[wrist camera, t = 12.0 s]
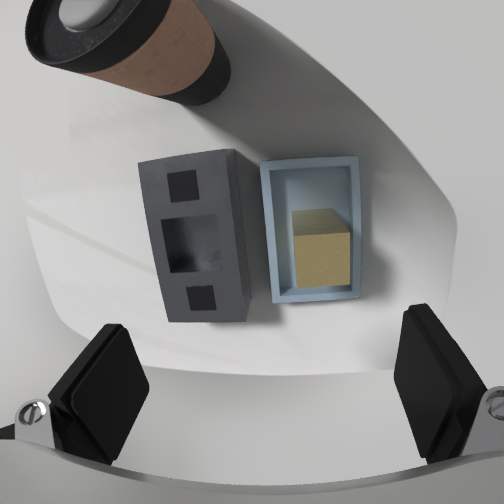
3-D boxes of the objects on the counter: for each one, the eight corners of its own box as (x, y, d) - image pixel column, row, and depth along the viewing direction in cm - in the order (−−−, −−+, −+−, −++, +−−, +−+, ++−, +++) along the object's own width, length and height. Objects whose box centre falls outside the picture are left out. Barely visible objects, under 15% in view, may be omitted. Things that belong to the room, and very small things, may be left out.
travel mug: (147, 83, 28) (4, 38, 9) (193, 28, 25) (93, -75, 6) (199, 123, 29) (74, 96, 10) (249, 66, 26) (194, -46, 7)
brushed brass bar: (291, 210, 30) (293, 236, 22) (331, 208, 29) (349, 232, 21) (294, 249, 31) (296, 288, 23) (333, 247, 31) (349, 284, 22)
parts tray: (261, 161, 29) (259, 162, 27) (352, 155, 28) (358, 156, 26) (273, 292, 34) (272, 303, 31) (355, 287, 33) (359, 297, 30)
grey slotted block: (158, 159, 30) (137, 163, 25) (234, 148, 29) (224, 148, 24) (182, 300, 35) (168, 322, 30) (251, 297, 34) (245, 322, 29)
